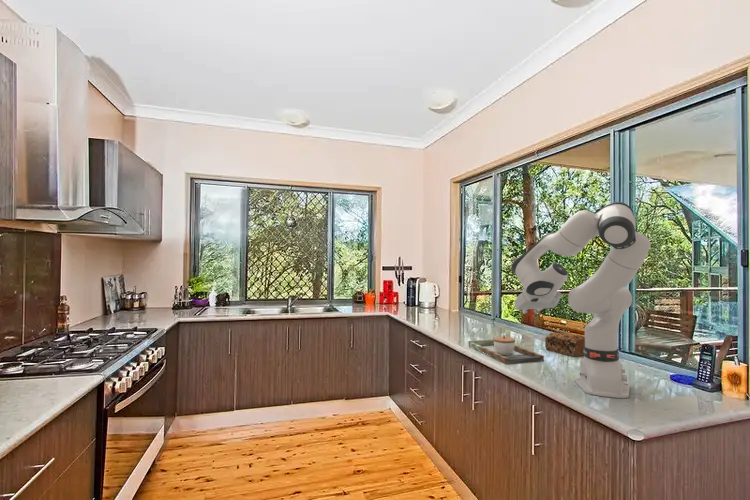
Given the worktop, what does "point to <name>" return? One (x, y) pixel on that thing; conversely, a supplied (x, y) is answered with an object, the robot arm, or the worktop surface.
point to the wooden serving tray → (525, 358)
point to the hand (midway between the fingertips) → (529, 312)
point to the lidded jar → (504, 345)
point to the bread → (565, 344)
